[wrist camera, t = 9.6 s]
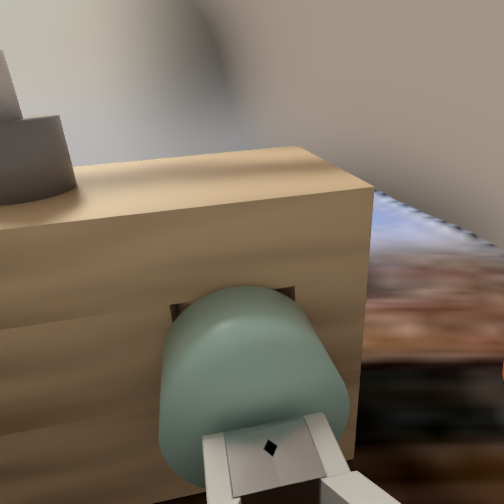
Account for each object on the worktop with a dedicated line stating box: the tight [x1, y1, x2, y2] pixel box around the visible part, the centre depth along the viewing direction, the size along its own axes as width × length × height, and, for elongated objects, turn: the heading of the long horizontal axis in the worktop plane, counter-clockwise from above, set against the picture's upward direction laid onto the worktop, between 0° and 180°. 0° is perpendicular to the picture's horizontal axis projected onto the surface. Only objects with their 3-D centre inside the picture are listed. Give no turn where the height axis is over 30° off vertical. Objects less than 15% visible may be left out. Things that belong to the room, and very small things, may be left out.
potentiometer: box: [0, 50, 77, 206], centre depth 13 cm, size 3×3×4 cm
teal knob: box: [158, 286, 350, 489], centre depth 16 cm, size 13×5×5 cm, turn 11°
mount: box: [0, 146, 374, 504], centre depth 16 cm, size 8×22×12 cm, turn 101°
